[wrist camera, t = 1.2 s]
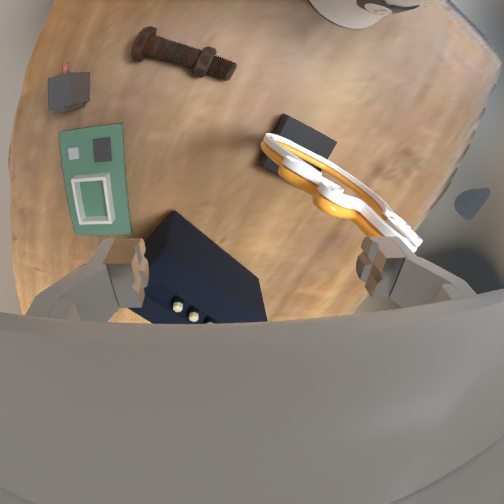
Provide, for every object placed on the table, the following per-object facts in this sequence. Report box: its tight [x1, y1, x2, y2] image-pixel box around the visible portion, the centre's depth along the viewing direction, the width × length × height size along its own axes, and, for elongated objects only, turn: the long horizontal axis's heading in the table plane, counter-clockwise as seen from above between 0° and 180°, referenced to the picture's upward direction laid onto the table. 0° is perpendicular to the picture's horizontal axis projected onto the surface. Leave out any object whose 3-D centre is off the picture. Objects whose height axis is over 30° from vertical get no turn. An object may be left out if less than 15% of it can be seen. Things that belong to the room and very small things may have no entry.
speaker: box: [129, 211, 267, 324], centre depth 49 cm, size 22×13×15 cm, turn 42°
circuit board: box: [59, 123, 132, 235], centre depth 42 cm, size 20×12×3 cm, turn 175°
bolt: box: [131, 27, 237, 81], centre depth 32 cm, size 6×5×15 cm
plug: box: [48, 62, 90, 114], centre depth 30 cm, size 8×4×7 cm, turn 175°
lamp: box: [259, 114, 422, 252], centre depth 31 cm, size 17×9×32 cm, turn 64°
